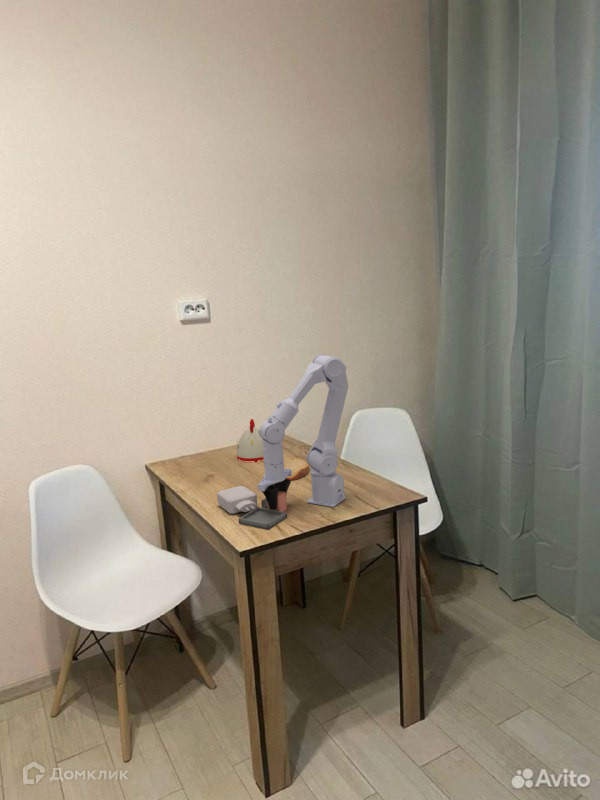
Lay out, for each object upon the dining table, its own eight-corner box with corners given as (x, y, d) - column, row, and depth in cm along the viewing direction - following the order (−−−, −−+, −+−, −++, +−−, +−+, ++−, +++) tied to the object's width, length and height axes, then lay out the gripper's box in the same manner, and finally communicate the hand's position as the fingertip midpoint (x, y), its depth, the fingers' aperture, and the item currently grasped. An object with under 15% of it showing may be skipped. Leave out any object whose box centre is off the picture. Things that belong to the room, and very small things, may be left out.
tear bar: (274, 503, 177) (273, 494, 177) (262, 510, 172) (262, 500, 172) (271, 502, 178) (270, 493, 177) (259, 509, 173) (258, 500, 173)
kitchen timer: (234, 463, 220) (231, 424, 217) (239, 452, 234) (236, 416, 231) (271, 461, 219) (268, 422, 216) (274, 450, 233) (271, 414, 230)
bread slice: (291, 460, 219) (290, 451, 219) (326, 469, 207) (325, 459, 206) (254, 474, 207) (253, 464, 206) (289, 484, 194) (289, 473, 194)
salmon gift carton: (286, 509, 172) (285, 491, 171) (279, 514, 169) (278, 496, 168) (275, 507, 174) (273, 489, 173) (268, 511, 171) (266, 494, 170)
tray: (287, 517, 166) (286, 512, 166) (268, 529, 159) (268, 524, 158) (258, 511, 172) (257, 507, 171) (239, 523, 164) (238, 518, 164)
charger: (237, 521, 165) (218, 506, 178) (266, 513, 170) (245, 499, 183) (236, 505, 165) (216, 491, 177) (265, 498, 169) (244, 484, 182)
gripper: (276, 453, 177) (280, 495, 179) (247, 468, 165) (251, 513, 167) (296, 456, 173) (299, 499, 175) (267, 470, 161) (271, 517, 164)
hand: (277, 506), depth 171 cm, fingers closed on salmon gift carton, 4 cm apart
